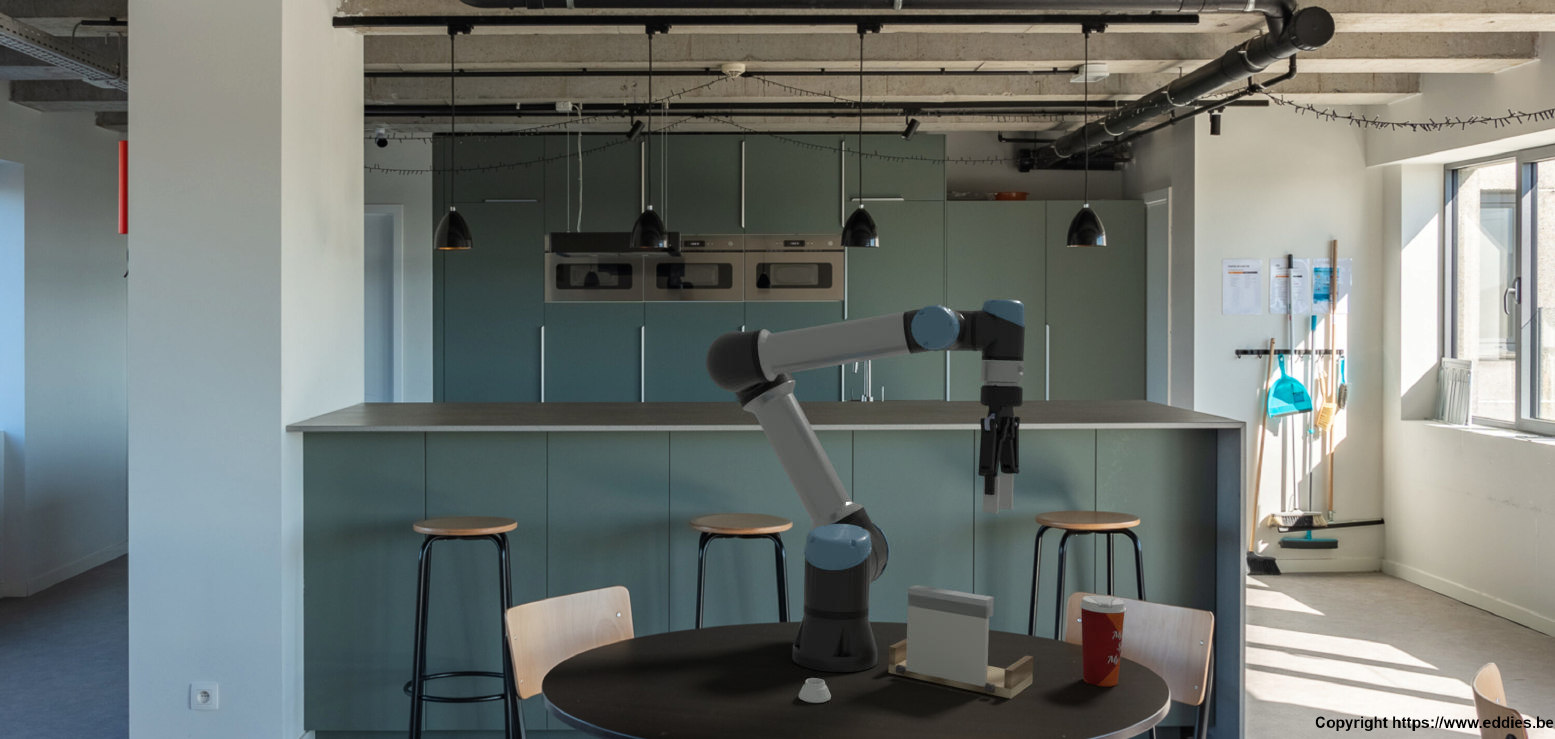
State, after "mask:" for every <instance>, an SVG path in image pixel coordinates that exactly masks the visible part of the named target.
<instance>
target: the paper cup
mask: <svg viewBox="0 0 1555 739" xmlns="http://www.w3.org/2000/svg"><path fill="white" fill-rule="evenodd" d="M1078 606H1079V607H1080V608H1081V610H1080V611H1081V612H1080V613H1081V614H1080V615H1081V637H1082V638H1081V643H1082V644H1081V647H1082V648H1081V649H1082V671H1083V672H1082V673H1083V681H1084V682H1085V683H1087V684H1089V685H1092V686H1098V687H1107V688H1108V687H1114V686H1117V685H1118V682H1119V676H1120V675H1119V673H1120V666H1121V665H1120V663H1121V654H1122V652H1121V651H1122V643H1123V633H1124V622H1125V621H1124V620H1125V612H1126V611H1127V610H1128V609H1127V608H1126V606H1125V602H1124V600H1122V599H1120V598H1117V597H1113V596H1108V595H1107V596H1106V595H1086V596H1083V597H1082V599H1081V602H1080V603H1079V605H1078Z"/></svg>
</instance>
